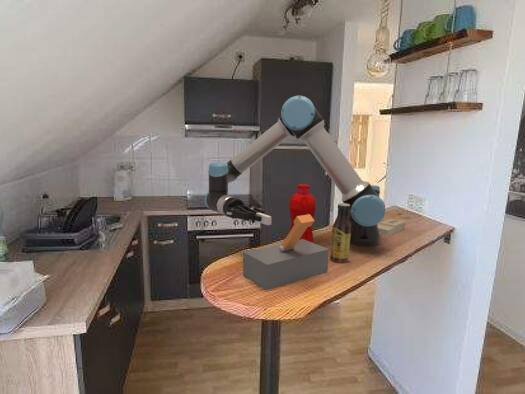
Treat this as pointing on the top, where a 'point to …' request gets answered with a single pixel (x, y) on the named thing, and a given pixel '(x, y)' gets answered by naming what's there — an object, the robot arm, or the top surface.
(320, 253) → the breaker box
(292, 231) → the lever
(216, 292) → the top surface
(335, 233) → the sauce bottle
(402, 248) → the top surface
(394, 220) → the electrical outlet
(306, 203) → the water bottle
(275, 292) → the top surface
